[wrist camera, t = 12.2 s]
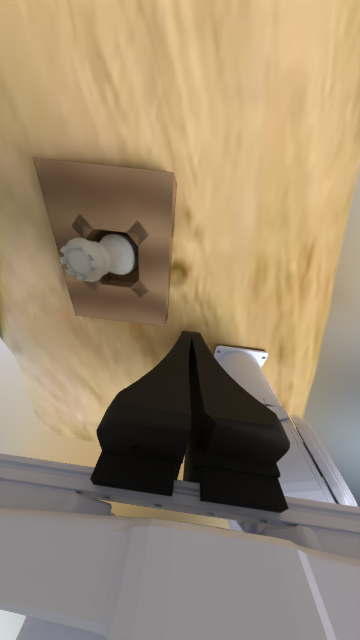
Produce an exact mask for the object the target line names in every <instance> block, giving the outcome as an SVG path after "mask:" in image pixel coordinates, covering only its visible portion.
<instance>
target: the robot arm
mask: <svg viewBox="0 0 360 640" xmlns="http://www.w3.org/2000/svg"><path fill="white" fill-rule="evenodd" d="M267 356H268V353H267V352H265V351H259V350H251V349H243V348H235V347H228V346H220V345H219V346H217V347H216V349H215V353H214V356H213V355H212V353H211V352H210V350H209V348H208V347H207V345H206V343H205V342H204V340H203V338H202V336H201V334H200V333H197V332H189V331H182V332H181V335H180V337H179V339H178V341H177V342H176V344H175V345H174V347H173V348H172V349H171V351H170V352H169V353H168V354H167V355H166V357H165V358H164V359H163V360H162V361H161V362H160V363H159V364H158V365H157V366H155V367H154V368H153V369H152V370H151V371H150V372H148V373H147V374H146V375H144V376H143V377H142V378H140V379H139V380H138V381H136V382H135V383H133V384H131V385H130V386H128V387H127V388H125V389H123V390H122V391H120V392H119V393H118V394H117V395H116V397H115V398H114V400H113V401H112V403H111V404H110V406H109V407H108V409H107V410H106V412H105V414H104V416H103V418H102V420H101V422H100V424H99V426H98V428H97V430H96V431H97V437H98V440H99V443H100V446H101V449H102V452H101V455H100V457H99V459H98V461H97V464H96V466H95V468H94V467H87V466H80V465H74V464H67V463H60V462H53V461H47V460H40V459H33V458H27V457H20V456H13V455H7V454H0V609H1V610H5V611H9V612H14V613H18V614H22V615H26V619H25V621H24V623H23V625H22V628H21V630H20V632H19V634H18V637H17V639H16V640H360V507H357V504H356V501H355V499H354V497H353V496H352V494H351V492H350V490H349V488H348V487H347V485H346V483H345V481H344V480H343V478H342V477H341V475H340V473H339V471H338V470H337V468H336V466H335V465H334V463H333V461H332V460H331V458H330V456H329V455H328V453H327V452H326V450H325V448H324V447H323V445H322V444H321V442H320V441H319V439H318V438H317V436H316V434H315V433H314V431H313V430H312V428H311V427H310V426H309V424H308V423H307V422H306V421H305V420H304V419H302V418H299V417H298V416H297V415H291V418H292V420H293V422H294V424H295V426H296V429H297V431H298V433H299V435H300V436H301V438H302V440H303V442H302V440H301V439H300V437H299V435H298V433H297V431H296V429H295V428H294V426H293V424H292V422H291V420H290V418H289V417H288V415H287V413H286V411H285V409H284V407H283V406H282V405H281V404H280V402H279V400H278V398H277V396H276V394H275V393H274V391H273V389H272V387H271V385H270V383H269V381H268V380H267V378H266V376H265V374H264V372H263V370H262V366H263V364H264V362H265V360H266V358H267ZM184 455H185V460H184V475H183V481H180V480H177V477H178V474H179V470H180V466H181V464H182V463H183V459H184ZM322 477H323V478H324V480H325V482H326V484H327V486H328V488H327V486H326V484H325V482H324V481H323V479H322ZM97 499H99V500H97ZM100 500H105V501H112V502H118V503H125V504H131V505H138V506H144V507H152V508H158V509H165V510H171V511H178V512H184V513H191V514H197V515H204V516H210V517H217V518H223V519H227V520H228V523H229V526H230V530H229V529H224V528H218V527H212V526H206V525H199V524H193V523H185V522H177V521H169V520H159V519H149V518H137V517H123V516H116V515H114V514H113V513H112V512H111V508H112V507H111V504H110V503H107V502H104V501H100Z"/></svg>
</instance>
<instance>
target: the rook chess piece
mask: <svg viewBox="0 0 360 640" xmlns="http://www.w3.org/2000/svg"><path fill="white" fill-rule="evenodd" d="M60 251H61V252H62V253H63V254H64V257H59V259H60V263H61V264H66V265H67V267H68V268H69V269H67V270H66V272H67V273H68V274H69V275H70V276H73V275H76V276H77V279H79V280H84V281H89V282H94V281H97V280H99V279H100V278H101V277H102V276H103V275H105V274H107V273H108V272H109V271H110V272H112V273H114V274H119V275H124V274H128V273H131V272H133V271H134V270H135V269H136V268H137V265H138V262H139V256H138V250H137V247H136V245H135V244H134V242H133V241H132V240H131V239H130V238H129V237H127V236H125V235H124V234H118V233H114V234H109V235H106V236H104V237H103V238H102V239H101V241H100V242H99V243H97V242H92V241H88V240H86V239H84V238H74V239H72V240H69V242H68V243H67V244H66V246H63V247H62V248H61V250H60Z"/></svg>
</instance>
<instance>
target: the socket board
mask: <svg viewBox="0 0 360 640" xmlns="http://www.w3.org/2000/svg"><path fill="white" fill-rule="evenodd" d="M33 160H34V164H35V167H36V171H37V175H38V178H39V182H40V186H41V189H42V193H43V197H44V201H45V204H46V208H47V212H48V215H49V219H50V223H51V226H52V230H53V234H54V238H55V241H56V245H57V249H58V252H59V256H60V257H64V254H63V253H62V252H61V251H60V250H61V248H62V247H63V246H66V244H67V243H68V242H69V240H72V239H74V238H84V239H86V240H88V241H92V242H97V243H99V241H98V240H99V239H100V238H101V236H102V235H103V234H104V233H105V231H106V230H108V231H117V232H125V233H127V234H128V235H129V236H130V237H131V238H132V240H133V241H134V242H135V243H136V245H137V246H138V256H139V280H138V281H137V282H128V281H120V280H112V279H111V278H110V277H109V276H108V275H107V274H105V275H103V276H102V277H101V278H100V279H99V280H97V281H94V282H89V281H84V280H79V279H77V276H76V275H73V276H70V275H69V274H68V273H67V272H66V270H67V269H69V268H68V267H67V265H66V264H62V267H63V271H64V275H65V278H66V282H67V286H68V289H69V293H70V297H71V300H72V304H73V308H74V312H75V315H77V316H84V317H92V318H100V319H108V320H116V321H123V322H131V323H139V324H147V325H154V326H162V327H165V324H166V321H167V318H168V303H169V289H170V274H171V260H172V245H173V231H174V217H175V202H176V188H177V182H176V178H175V175H174V173H173V172H164V171H154V170H145V169H136V168H127V167H117V166H108V165H99V164H90V163H80V162H71V161H62V160H53V159H43V158H34V157H33Z"/></svg>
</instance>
